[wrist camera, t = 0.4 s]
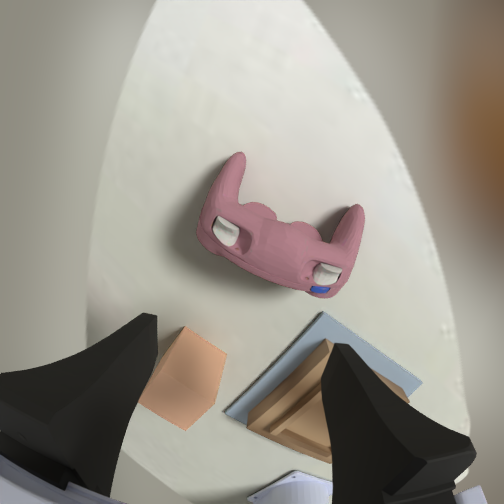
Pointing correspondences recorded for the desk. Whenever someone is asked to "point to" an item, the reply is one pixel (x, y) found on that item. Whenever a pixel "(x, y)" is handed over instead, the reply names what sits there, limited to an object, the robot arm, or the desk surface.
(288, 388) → the walnut plinth
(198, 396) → the terracotta block
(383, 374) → the mat
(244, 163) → the video game controller
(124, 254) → the desk surface
